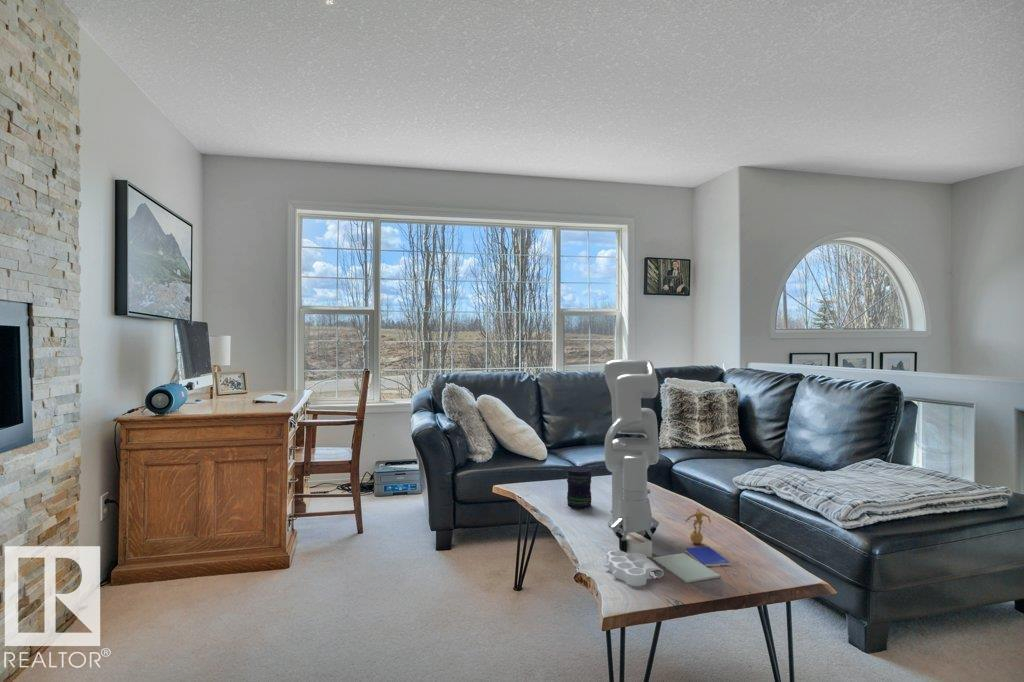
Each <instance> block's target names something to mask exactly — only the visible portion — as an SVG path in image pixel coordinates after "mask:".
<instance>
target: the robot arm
mask: <svg viewBox="0 0 1024 682" xmlns="http://www.w3.org/2000/svg"><path fill="white" fill-rule="evenodd" d="M603 369H604V379H605V383H606V386H607V388H608V390H609V392H610V393H609V394H610V396H611V418H612V420H611V421H612V424H611V425H610V427H609V428H608V430H607V432H606V434H605V438H604V464H605V468H606V470H608V471H609V472H610V473H611V509H610V511H609V512H610V514H611V518H610V519H608V520H607V525H608V527H610V529H611V531H612V532H613V534H614V535H615V536H616V537H617V538H618V541H619V542H618V544H619V545H618V548H620V550H619V551H623V552H626V553H627V541H626V540H625V539H626V537H627V535H628V533H633V532H636V533H637V532H639V533H640V532H644V534H643V537H645V538H647V539H648V540H650V541H652V538H653V536H654V534H655V532H656V531H657V529H658V527H659V525H660V522H659V521H658V520H656V519H655V518H654V517H653V515H652V514H653V513H652V507H651V502H650V499H649V497H648V495H650V494H651V489H649V488H648V469H649V467H650V466H652V465H656V464H657V463H658V462H659V457H660V447H659V431H658V420H657V419H658V418H657V415H656V412H655V410H653V409H652V408H648V407H642V400H641V399H654V398H656V397H657V396H658V393H659V381H658V376H657V374H656V373H657V372H656V370H655V367H654V364H653V362H652V361H651V360H650V359H633V358H632V359H629V358H628V359H624V358H623V359H613V360H609V361H607V362H606V363H605V365H604V368H603ZM617 434H624V435H625V434H626V435H643V436H644V437H617V438H615V436H616V435H617Z"/></svg>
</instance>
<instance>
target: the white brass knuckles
mask: <svg viewBox="0 0 1024 682" xmlns="http://www.w3.org/2000/svg"><path fill="white" fill-rule="evenodd" d="M603 566H604V567H605V568H606V569H608V568H609V569H608V572H609V571H610V572H609V573H611V572H612V573H611V575H613V577H614V576H615V577H614V578H616V579H617V578H618V580H620V581H623V582H625V584H626V585H628V586H632V587H641V586H642V585H643V586H644V585H645V586H646V584H647V581H648V580H652V578H653V580H655V578H654V577H653V576H651V575H650V572H654V574H655V576H657V577H656V578H658V579H661V578H662V577H663V576H665V575H664V574H665V572H664V570H663V568H661V567H659V566H658V565H657V564H656V562H654V561H652V560H651V559H649V558H647V556H645V555H644V554H642V553H632V554H631V553H626V552H623V551H620V550H610V551H608V552H607V553H606V563H605V564H603ZM647 579H648V580H647ZM643 586H642V587H643Z"/></svg>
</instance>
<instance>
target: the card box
mask: <svg viewBox="0 0 1024 682" xmlns="http://www.w3.org/2000/svg"><path fill="white" fill-rule="evenodd" d="M625 540H626V541H627V553H631V554H632V553H642V554H644V555H645V556H647V557H650V558H653V540H651V541H650V540H648V539H647V538H645V537H644V535H641V534H639V533H637V532H631V533H628V535H627V537H626V539H625ZM618 548H619V547H618ZM619 549H620V548H619Z"/></svg>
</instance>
